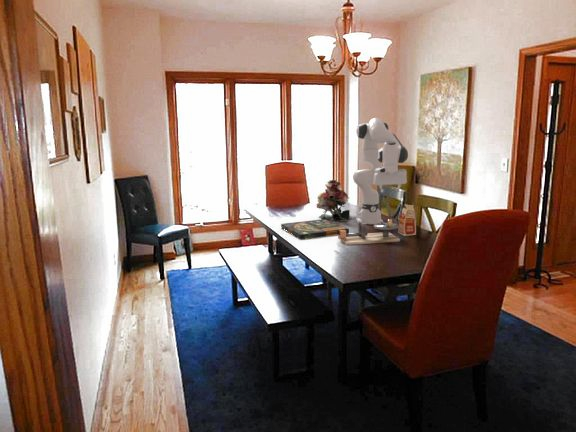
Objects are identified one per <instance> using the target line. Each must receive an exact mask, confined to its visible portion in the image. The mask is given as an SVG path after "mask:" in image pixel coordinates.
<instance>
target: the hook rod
mask: <svg viewBox="0 0 576 432" xmlns="http://www.w3.org/2000/svg"><path fill="white" fill-rule="evenodd" d="M367 234H368V232H367V231H366V236H367ZM338 235H339V238H340V239H346V237H355V236H362V233H359V232H351V233H350V232H349V233H346V231H345V230H339V234H338ZM339 238H338V239H339ZM340 239H339V240H340Z"/></svg>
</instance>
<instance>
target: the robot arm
mask: <svg viewBox="0 0 576 432" xmlns="http://www.w3.org/2000/svg"><path fill="white" fill-rule="evenodd" d="M355 132H356V135H357V137H358V139H361V140H362V161H363V163H365V164H366V165H369V167H370V168H367V169H366V168H365V169H359V170H355V172H354V173H353V175H352V179H353V182H354V183H355V184H356V185H357V186H359V188H360V190H361V193H362V205H361V210H360V211H359V212H357V217H356V218H355V219H356V222H357V223H358V224H359V221H362V222H364V223H365V224H366V225H374V224H376V223H381V222H384V220H383V219H382V211H381V210H380V203H379V202H380V201H379V197H380V195H379V192H378V190H376V189H374V188H372V185H374V186H378V187H379V189H380V193H385V189H383V186H388V185H391V186H392V185H397V188H395V193H397V192H398V193H399V192H400V189H401V187H402V185H407V182H408V180H407V179H408V178H407V174H408V172H407V169H405V168H399V166H398V165H399V164H403V163H406V161H407V160H408V157H409V152H408V149H407V148H406V147H405V146H404V145H403V144H402V142H401V141H400V139H398V137H397V135H395V134H394V133H393V132H391V131H390V129H389V125H388V123H387V122H384V121H382V119H381V118H379V117H374V118H371V119H370V120H369V122H367V123H366V122H363V123H359V124H358V125H357V127H356V131H355ZM379 144H383V146H382V147H380V148H379ZM381 163H382V164H381Z"/></svg>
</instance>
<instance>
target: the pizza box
mask: <svg viewBox="0 0 576 432" xmlns="http://www.w3.org/2000/svg"><path fill="white" fill-rule="evenodd" d="M280 226H281V227H282V228H283V229H282V228H281V227H280V228H281V229H282V230H284V229H285V230H287V231H288V232H287V231H286V232H287V233H289V232H290V233H289V234H291V233H292V234H293V236H294V235H295V236H294V237H296V238H297V237H298V238H297V239H299V238H300V239H299V240H305V238H307V239H312V238H321V237H330V236H338V235H339V230H345V231H346V233H350V229H349V228H348V227H345V226H343V225H342V224H341V225H340V224H338V223H336V222H335V221H329V220H327V219H321V218H320V219H313V220H304V221H297V222H296V221H295V222H286V223H280ZM285 230H284V231H285ZM292 234H291V235H292Z"/></svg>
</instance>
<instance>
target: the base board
mask: <svg viewBox="0 0 576 432" xmlns="http://www.w3.org/2000/svg"><path fill="white" fill-rule="evenodd" d="M366 227H367V224H365V223H364V222H362V221H359V223H358V233H362V236H355V237H346V239H340V238H339V234H338V235H337V238H338V239H339V240H340V241H341V242H342V243H343V245H345V246H349V245H350V246H351V245H366V244H381V243H384V244H385V243H397V242H398V243H399V242H401V239H400V238H399V237H398V236H396V235H394V234H393V233H391V232H390V230H382V232H373V233H372V232H370V233H368V232H367V231H366V229H367V228H366ZM366 232H367V236H366Z"/></svg>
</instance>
